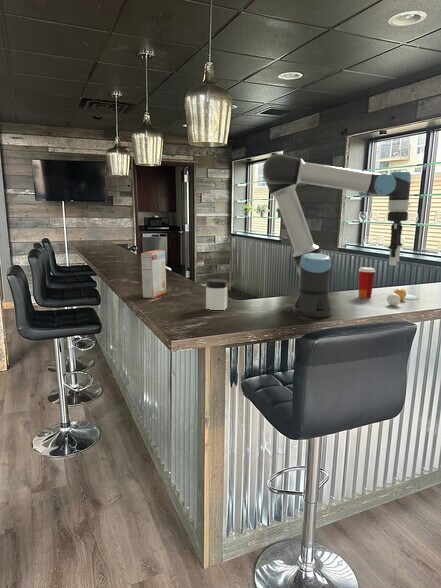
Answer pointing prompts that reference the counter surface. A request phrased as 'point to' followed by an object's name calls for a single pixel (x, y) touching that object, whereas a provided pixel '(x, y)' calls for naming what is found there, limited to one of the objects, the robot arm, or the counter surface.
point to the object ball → (400, 293)
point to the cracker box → (153, 273)
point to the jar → (216, 294)
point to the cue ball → (393, 299)
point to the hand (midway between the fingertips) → (394, 263)
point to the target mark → (409, 297)
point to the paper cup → (366, 281)
